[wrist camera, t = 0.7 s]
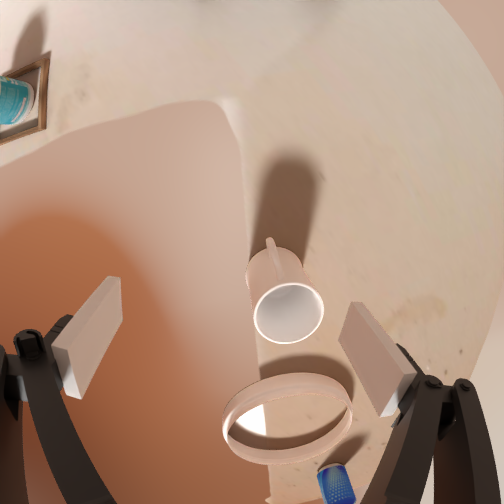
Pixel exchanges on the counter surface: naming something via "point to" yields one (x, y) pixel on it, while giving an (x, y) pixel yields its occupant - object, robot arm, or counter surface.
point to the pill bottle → (15, 100)
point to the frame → (42, 97)
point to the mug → (282, 296)
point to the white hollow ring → (253, 423)
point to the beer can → (335, 485)
